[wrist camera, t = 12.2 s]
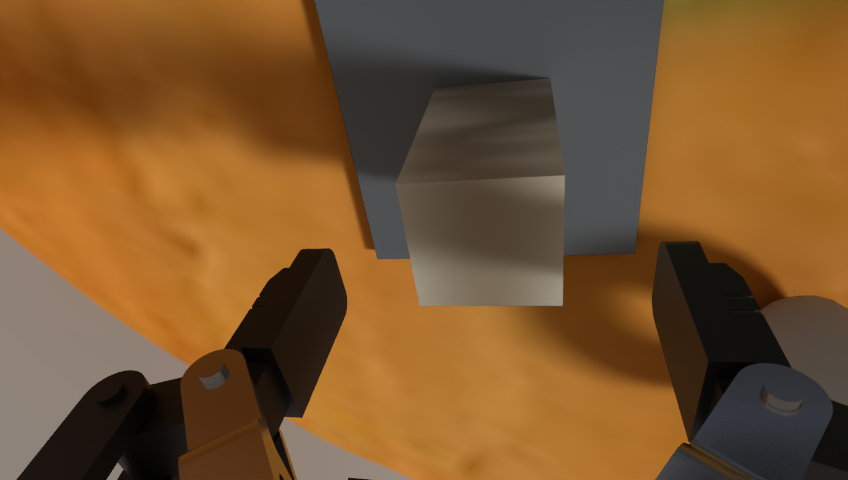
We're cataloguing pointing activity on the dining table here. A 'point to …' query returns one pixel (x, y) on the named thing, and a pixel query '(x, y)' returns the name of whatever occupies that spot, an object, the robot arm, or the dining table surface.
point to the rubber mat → (495, 63)
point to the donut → (813, 340)
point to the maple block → (486, 197)
